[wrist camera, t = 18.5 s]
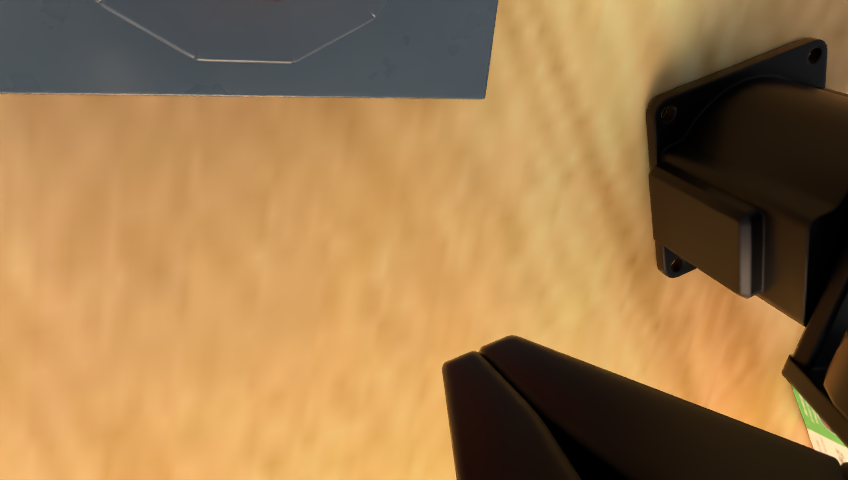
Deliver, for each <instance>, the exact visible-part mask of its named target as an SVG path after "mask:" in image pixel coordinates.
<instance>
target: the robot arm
mask: <svg viewBox="0 0 848 480" xmlns="http://www.w3.org/2000/svg"><path fill="white" fill-rule="evenodd" d="M810 52H811V53H810ZM809 54H810V56H809ZM826 66H827V45H826V43H825V42H824V41H822V40H820V39H816V38H811V37H809V38H804V39H801V40H799V41H796V42H794V43H791V44H789V45H786V46H783V47H781V48H778V49H776V50H773V51H771V52H768V53H766V54H763V55H760V56H758V57H755V58H753V59H750V60H748V61H745V62H743V63H740V64H737V65H735V66H732V67H730V68H727V69H725V70H722V71H719V72H717V73H714V74H712V75H709V76H707V77H704V78H702V79H699V80H696V81H694V82H691V83H689V84H686V85H684V86H681V87H678V88H676V89H673V90H671V91H668V92H666V93H663V94H661V95H658V96H657V97H655V98H653V100H652V101H651V102H650V103H649V105H648V108H647V110H646V124H647V137H648V150H649V164H650V173H649V186H650V199H651V212H652V225H653V237H654V240H655V243H656V256H657V266H658V269H659V270H660V271H661V272H662V273H664V274H665V275H666V276H668V277H670V278H675V277H679V276H681V275H683V274H685V273H687V272H690V271H692V270H694V269H696V268H698V269H700V270H701V271H703V272H704V273H706V274H707V275H709V276H710V277H712V278H713V279H715V280H716V281H718V282H719V283H721V284H722V285H724V286H725V287H727V288H729V289H730V290H732V291H733V292H735V293H736V294H738V295H740V296H742V297H744V298H750V297H752V296H754V295H756V296H758V297H759V298H761V299H762V300H764V301H765V302H767V303H769V304H770V305H772V306H773V307H775V308H776V309H778V310H780V311H781V312H783V313H784V314H786V315H787V316H789V317H791V318H792V319H794V320H795V321H797V322H798V323H800V324H802V325H803V326H805V327H806V328H805V330H804V332H803V335H802V337H801V339H800V341H799V343H798V346H797V348H796V350H795V352H794V354H793V355H789V357H788V359H787V361H786V364H785V366H784V368H783V370H782V375H783V376H784V377H785V378H786V379H787V380H788V381H789V382H790V384H791V385H792V386H793V387H794V388H795V389H796V390H797V392H798V393H799V394H800V395H801V396H802V397H803V398H804V399H805V401H806V402H807V403H808V404H809V405H810V406H811V407H812V408H813V410H814V411H815V412H816V413H817V414H818V415H819V416H820V417H821V419H822V420H823V421H824V422H825V423H826V424H827V425H828V426H829V428H830V429H831V430H832V431H833V432H834V433H835V434H836V435H837V437H838V438H839V439H840V440H841V441H842V442H843V443H844V445H845V446H846V447H847V448H848V94H844V93H841V92H837V91H834V90H830V89H827V88H825V82H826ZM666 107H667V111H666V113H665V115H664V116H663V117H662V118H661V114H662V111H663V110H664V108H666ZM674 260H675V261H674ZM673 261H674V263H673V264H672V262H673ZM671 264H672V265H671ZM442 373H443V381H444V388H445V395H446V403H447V410H448V418H449V425H450V433H451V440H452V448H453V455H454V463H455V470H456V478H457V480H848V462H844V463H842V464H841V465H840V463H839V461H838V460H837V459H836V458H835V457H833V456H830V455H827V454H825V453H822V452H819V451H817V450H814V449H812V448H809V447H806V446H804V445H801V444H798V443H796V442H793V441H791V440H788V439H785V438H783V437H780V436H778V435H775V434H772V433H770V432H767V431H764V430H762V429H759V428H757V427H754V426H751V425H749V424H746V423H744V422H741V421H738V420H736V419H733V418H730V417H728V416H725V415H723V414H720V413H717V412H715V411H712V410H709V409H707V408H704V407H702V406H699V405H696V404H694V403H691V402H689V401H686V400H683V399H681V398H678V397H675V396H673V395H670V394H668V393H665V392H662V391H660V390H657V389H654V388H652V387H649V386H647V385H644V384H641V383H639V382H636V381H634V380H631V379H628V378H626V377H623V376H620V375H618V374H615V373H613V372H610V371H607V370H605V369H602V368H599V367H597V366H594V365H592V364H589V363H586V362H584V361H581V360H579V359H576V358H573V357H571V356H568V355H565V354H563V353H560V352H558V351H555V350H552V349H550V348H547V347H544V346H542V345H539V344H537V343H534V342H531V341H529V340H526V339H524V338H521V337H518V336H512V335H511V336H507V337H504V338H502V339H500V340H497V341H495V342H492V343H490V344H488V345H485V346H483V347H482V348H481V349H480V351H479V353H478V352H474V351H472V352H469V353H466V354H464V355H461V356H459V357H457V358H454V359H452V360H449V361H447V362H445V363H444V364H443V367H442Z"/></svg>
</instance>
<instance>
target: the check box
mask: <svg viewBox="0 0 848 480" xmlns="http://www.w3.org/2000/svg"><path fill="white" fill-rule="evenodd" d="M497 5H498V0H0V94H51V95H141V96H231V97H320V98H410V99H485V94H486V87H487V80H488V72H489V65H490V57H491V50H492V42H493V35H494V28H495V20H496V13H497Z"/></svg>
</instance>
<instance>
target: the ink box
mask: <svg viewBox="0 0 848 480" xmlns="http://www.w3.org/2000/svg"><path fill="white" fill-rule="evenodd" d="M792 389H793V391H794V395H795V397H796V400H797V403H798V406H799V409H800V411H801V414H802V417H803V420H804V422H805V425H806V427H807V431H808V434H809V437H810V439H811V443H812V445H813V448H814V450H817V451H819V452H822V453H825V454H827V455H830V456H833V457H835V458H836V459H837V460H838V461H839V463H840V465H841V464H842V463H844V462H848V448H847V447H846V446H845V445H844V443H843V442H842V441H841V440H840V439H839V438H838V437H837V435H836V434H835V433H834V432H833V431H832V430H831V429H830V428H829V426H828V425H827V424H826V423H825V422H824V421H823V420H822V419H821V417H820V416H819V415H818V414H817V413H816V412H815V411H814V410H813V408H812V407H811V406H810V405H809V404H808V403H807V402H806V401H805V399H804V398H803V397H802V396H801V395H800V394H799V393H798V392H797V390H796V389H795V388H794V387H793V386H792Z"/></svg>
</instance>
